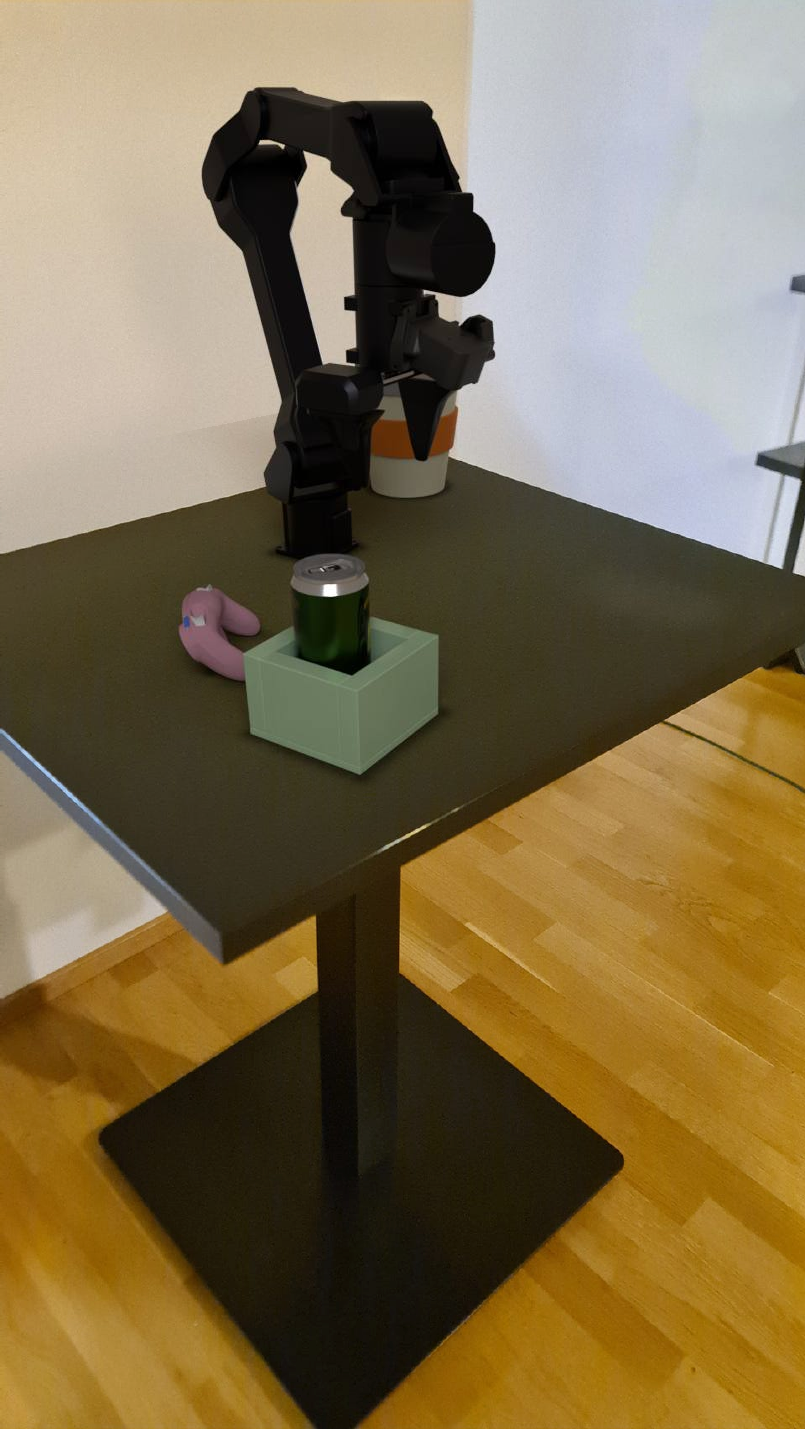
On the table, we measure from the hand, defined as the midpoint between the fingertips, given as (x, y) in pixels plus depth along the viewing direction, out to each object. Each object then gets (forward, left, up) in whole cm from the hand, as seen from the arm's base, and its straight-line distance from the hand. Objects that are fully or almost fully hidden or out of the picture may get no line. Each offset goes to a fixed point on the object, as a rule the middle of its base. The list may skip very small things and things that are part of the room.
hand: (392, 473), depth 90 cm
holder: (+10, -21, -12) cm, 26 cm away
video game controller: (-5, -18, -12) cm, 22 cm away
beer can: (+10, -22, -12) cm, 26 cm away
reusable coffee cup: (-18, +29, -12) cm, 36 cm away
